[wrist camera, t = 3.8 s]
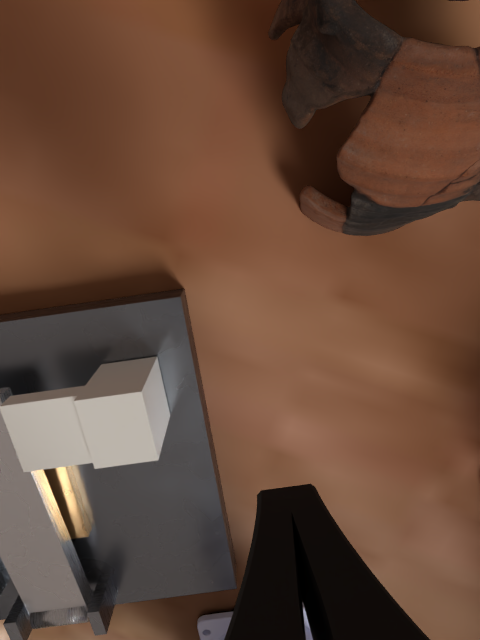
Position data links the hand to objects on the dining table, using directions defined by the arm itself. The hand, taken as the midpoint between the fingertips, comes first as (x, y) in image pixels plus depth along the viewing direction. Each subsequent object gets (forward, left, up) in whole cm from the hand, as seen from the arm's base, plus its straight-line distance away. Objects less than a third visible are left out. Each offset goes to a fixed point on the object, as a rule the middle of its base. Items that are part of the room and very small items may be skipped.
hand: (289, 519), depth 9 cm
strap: (-5, +12, -8) cm, 15 cm away
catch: (0, +7, -8) cm, 11 cm away
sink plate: (-5, +10, -10) cm, 15 cm away
